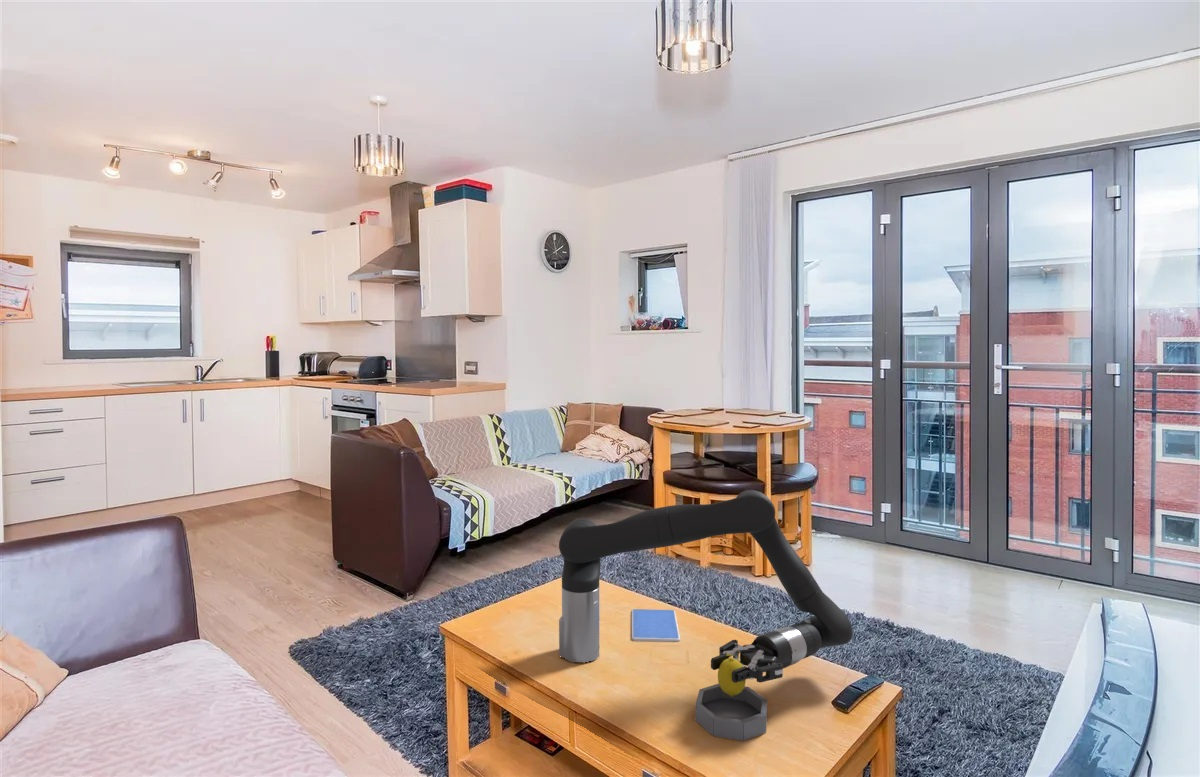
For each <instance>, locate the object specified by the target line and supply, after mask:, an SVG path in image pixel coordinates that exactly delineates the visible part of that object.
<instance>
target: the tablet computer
mask: <svg viewBox="0 0 1200 777" xmlns="http://www.w3.org/2000/svg"><path fill="white" fill-rule="evenodd" d="M631 640H632V641H636V642H668V643H671V642H673V643H674V642H675V643H677V642H680V640H681V637H680V630H679V626H678V620H677V614H676V611H675V610H673V609H650V608H649V609H642V608H641V609H640V608H639V609H638V608H637V609H635V608H633V609H632V610H631Z"/></svg>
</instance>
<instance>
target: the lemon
mask: <svg viewBox="0 0 1200 777" xmlns="http://www.w3.org/2000/svg"><path fill="white" fill-rule="evenodd" d="M739 661H740V660H739ZM739 661H738V660H736V659H734V658H733V657H729V659H726V660H724V661H723V662H722V663H721V665H720V667H719V669H717V671H718V672H717V683H718V684H719V685H720V687H721V689H722V690H723V691H724V692H725V693H726V694H728V695H730V696H731V697H733V696H734V695H737V694H739V693H741V692H742V690H743V689H744V687H745V686H746V680H747V679H746V680H743V681H741V682H737V683H735V682H733V681H732V672H733V671H734V670H736V669H739V668H741V667H744V666H742V664H741V663H740V662H739Z"/></svg>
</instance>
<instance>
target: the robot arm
mask: <svg viewBox="0 0 1200 777" xmlns="http://www.w3.org/2000/svg"><path fill="white" fill-rule="evenodd" d="M775 508H776V507H775V505H774V504H773V501H772V500H771V499H770V498H769V497H768V496H767V495H766V494H764V493H763V492H761V491H758V490H755V489H747V490H743V491H741V492H740V493H739V494H737V496H736V497H735V498H732V499H728V500H723V501H719V502H715V503H707V504H706V503H705V504H697V503H695V504H691V503H690V504H675V505H673V504H672V505H667V506H661V507H656V508H651V509H647V510H643V511H641V512H638V513H635V514H633V515H630V516H629V517H627V518H623V519H621V520H618V521H615V522H612V523H606V524H597V525H596V523H595V522H593V521H592V520H591V519H588V518H584V517H582V518H581V517H580V518H575V519H574V520H572V521H571V522H569V523H568V524H567V526H566V527H565V529H564V530H563V532H562V533H561V536H560V538H559V541H558V550H559V553H560V555H561V556H562V557H563V568H562V575H561V616H560V618H559V620H558V653H559V654H558V657H559V656H561V657H564V658H565V659H564V658H563V659H564V660H566V659H567V660H569V661H568V662H570V661H572V662H571V663H574V662H587V663H590V662H589V661H591V662H593V661H595V660H596V659H598V657H599V656H600V578H601V561H602V560H601V559H602V558H606V557H610V556H613V555H617V554H623V553H630V552H638V551H646V550H652V549H659V548H666V547H671V546H672V547H673V546H678V545H682V544H686V543H692V542H696V541H699V540H705V539H707V538H712V537H717V536H721V535H723V536H724V535H732V534H733V535H734V534H750V535H751V536H752V538H753V539H754V540H755V542H756V543H757V544H758V545H759V547H760V549H761V550H762V551H763V553H764V555H765V556H766V558H767V560H768V561H769V563H770V565H771V567H772V569H773V570H774V572H775V574H776V576H777V578H778V580H779V582H780V583H781V585H782V587H783V588H784V590H785V592H786V593H787V595H788V596H789V598H790V599H791V601H792V603H793V604H794V606H795V607H796V608H797V609H798V610H799V611H800V612H802V613H809V614H812V615H813V616H809V617H807V618H805V619H803V620H802V621H799V622H797V623H794V624H791V625H788V626H786V627H780V628H777V629H774V630H771V631H768V632H766V633H765V632H764V633H763V634H761V635H758V636H756V638H754V640H753V641H752V642H751V643H750V644H744V645H740V644H738V643H739V642H738V640H737V639H731V640H730V641H729V642H726V643H725V644H723V645H722V646H720V647H719V648H718V650H719V651H718V652H719V655H717V656H713V657H712V658H711V659H710V669H712V670H713V671H716V670H719V667H720V665H721V663H722V662H723V661H724V660H726V659H729V658H734V659H736V660H738V661H739V662H740V663H741V664H742V666H743V667H741V668H739V669H736V670H734V671H733V672H732V681H733V682H735V683H737V682H741V681H743V680H755V679H756V682H757V683H764V682H768V681H772V680H777V679H781V678H783V674H784V669H786V668H789V667H790V666H793V665H795V664H798V663H799V662H800V661H802V660H804V659H807V658H809V657H812V656H813V655H815V654H816V653H818V652H819V651H820V649H823V648H830V647H837V646H844V645H847V644H849V643H850V642H851V640H852V638H853V636H854V635H853V634H854V632H853V631H854V629H853V626H852V623H851V621H850V619H849V617H848V616H847V614H846V613H845V612H844V611H843V610H842V609H841V608H840V607H839V605H837V604H836V603H835V602H834V601H833V600H832V599H831V598H830V597H829V596H828V595H827V594H825V592H824V591H823V590H822V589H821V587H820V585H819V583H818V582H817V580H816V579H815V577H814V575H812V573H811V571H810V570H809V569H808V567H807V566H806V564H805V563H804V561H803V560H802V558H801V557H800V556H799V555H798V553H797V552H796V551H795V549H794V548H793V546H792V545H791V544H790V542H789V540H788V539H787V538H786V536H785V535H784V533H783V531H782V528H780V526H779V523H778V522H777V519H776V509H775ZM561 657H560V658H561ZM567 660H566V661H567ZM764 673H765V674H764Z"/></svg>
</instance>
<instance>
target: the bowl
mask: <svg viewBox="0 0 1200 777" xmlns="http://www.w3.org/2000/svg"><path fill="white" fill-rule="evenodd" d="M694 709H695V710H694V712H695V713H694V714H695V716H694V717H695V722H696V723H697V724H698V725H700V726H701V728H702V727H703V729H704V730H706V731H707V732H708V733H709V734H711V735H712V736H713V737H718V738H724V739H730V740H735V741H740V742H745V741H748V740H750V739H752V738H756V737H757V736H758V737H759V736H761V735H763V734H766V733H767V721H768V720H767V719H768V699H767V698H765V697H764V696H762V695H761V694H759V693H758V692H756V691H755V690H754V689H752V688H751V687H750V686H746V685H745V687H744V689H743V690H742V692H741V693H739V694H737V695H734V696H733V697H731V696H730V695H728V694H726V693H725V692H724V691H723V690H722V689H721V687H720V685H719V683H715V684H713V685H709V686H706V687H703V688H700V689H699V690H698V693H697V698H696V701H695V708H694Z"/></svg>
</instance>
